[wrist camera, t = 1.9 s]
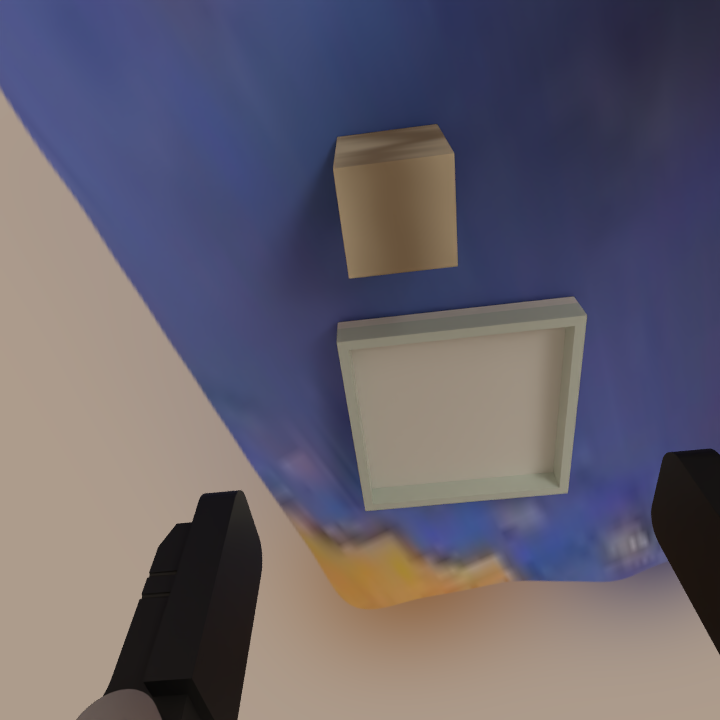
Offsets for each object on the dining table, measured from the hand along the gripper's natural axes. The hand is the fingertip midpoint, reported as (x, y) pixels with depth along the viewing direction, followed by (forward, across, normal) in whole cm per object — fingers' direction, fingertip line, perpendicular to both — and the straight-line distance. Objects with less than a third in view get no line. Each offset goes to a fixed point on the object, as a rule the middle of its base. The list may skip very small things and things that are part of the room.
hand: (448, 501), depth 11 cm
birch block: (+22, 0, 0) cm, 22 cm away
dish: (+22, -3, +15) cm, 27 cm away
